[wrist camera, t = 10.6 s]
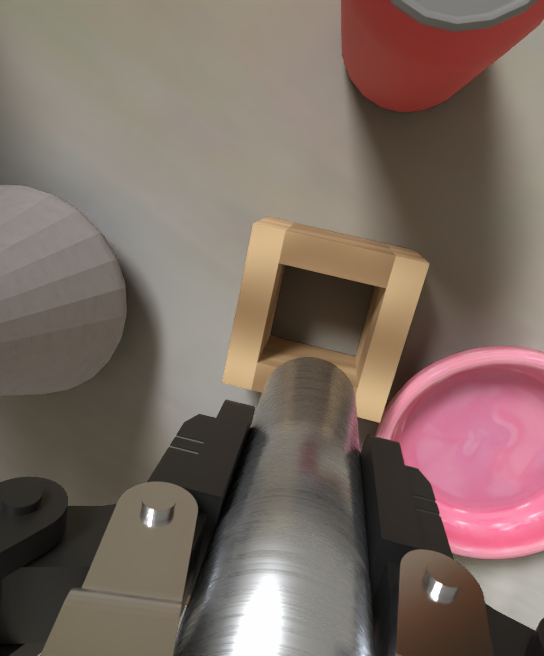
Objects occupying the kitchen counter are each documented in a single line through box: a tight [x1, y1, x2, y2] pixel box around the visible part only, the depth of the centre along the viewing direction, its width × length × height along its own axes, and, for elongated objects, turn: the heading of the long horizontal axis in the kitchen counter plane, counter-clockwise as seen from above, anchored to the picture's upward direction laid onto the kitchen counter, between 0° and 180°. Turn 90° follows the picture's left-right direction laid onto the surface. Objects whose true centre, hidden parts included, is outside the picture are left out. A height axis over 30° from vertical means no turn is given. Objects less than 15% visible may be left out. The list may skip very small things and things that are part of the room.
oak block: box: [222, 217, 429, 423], centre depth 25 cm, size 8×8×4 cm
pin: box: [173, 357, 376, 656], centre depth 10 cm, size 3×3×10 cm
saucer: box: [375, 346, 544, 559], centre depth 27 cm, size 12×12×3 cm
